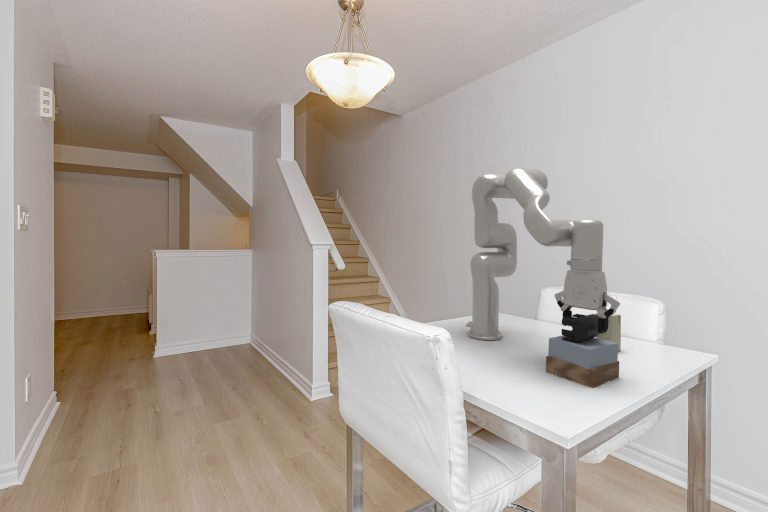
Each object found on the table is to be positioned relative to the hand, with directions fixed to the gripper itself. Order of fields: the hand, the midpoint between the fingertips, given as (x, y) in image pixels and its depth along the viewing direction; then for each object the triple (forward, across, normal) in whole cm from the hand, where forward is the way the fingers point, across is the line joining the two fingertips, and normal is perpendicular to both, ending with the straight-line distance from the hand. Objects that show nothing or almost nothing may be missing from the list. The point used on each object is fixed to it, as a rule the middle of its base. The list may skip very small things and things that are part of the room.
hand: (584, 328), depth 105 cm
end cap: (+3, 0, 0) cm, 3 cm away
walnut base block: (+13, 0, -1) cm, 13 cm away
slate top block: (+8, 0, -1) cm, 8 cm away
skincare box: (+13, -8, +29) cm, 33 cm away
